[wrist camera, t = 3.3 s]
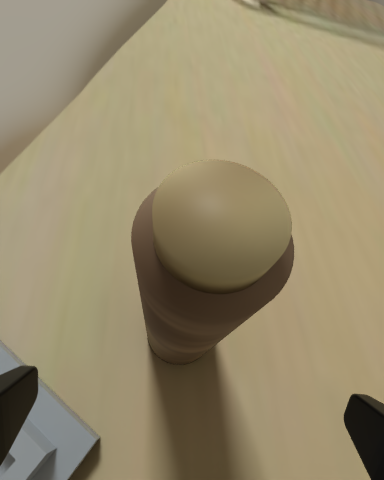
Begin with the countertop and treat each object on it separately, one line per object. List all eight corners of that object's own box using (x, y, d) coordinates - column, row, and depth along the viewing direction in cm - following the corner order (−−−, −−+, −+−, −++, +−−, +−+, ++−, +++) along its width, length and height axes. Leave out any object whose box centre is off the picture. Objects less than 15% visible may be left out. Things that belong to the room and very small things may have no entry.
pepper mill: (223, 323, 21) (341, 203, 8) (186, 380, 19) (258, 352, 5) (174, 285, 22) (200, 122, 9) (133, 335, 20) (83, 220, 6)
